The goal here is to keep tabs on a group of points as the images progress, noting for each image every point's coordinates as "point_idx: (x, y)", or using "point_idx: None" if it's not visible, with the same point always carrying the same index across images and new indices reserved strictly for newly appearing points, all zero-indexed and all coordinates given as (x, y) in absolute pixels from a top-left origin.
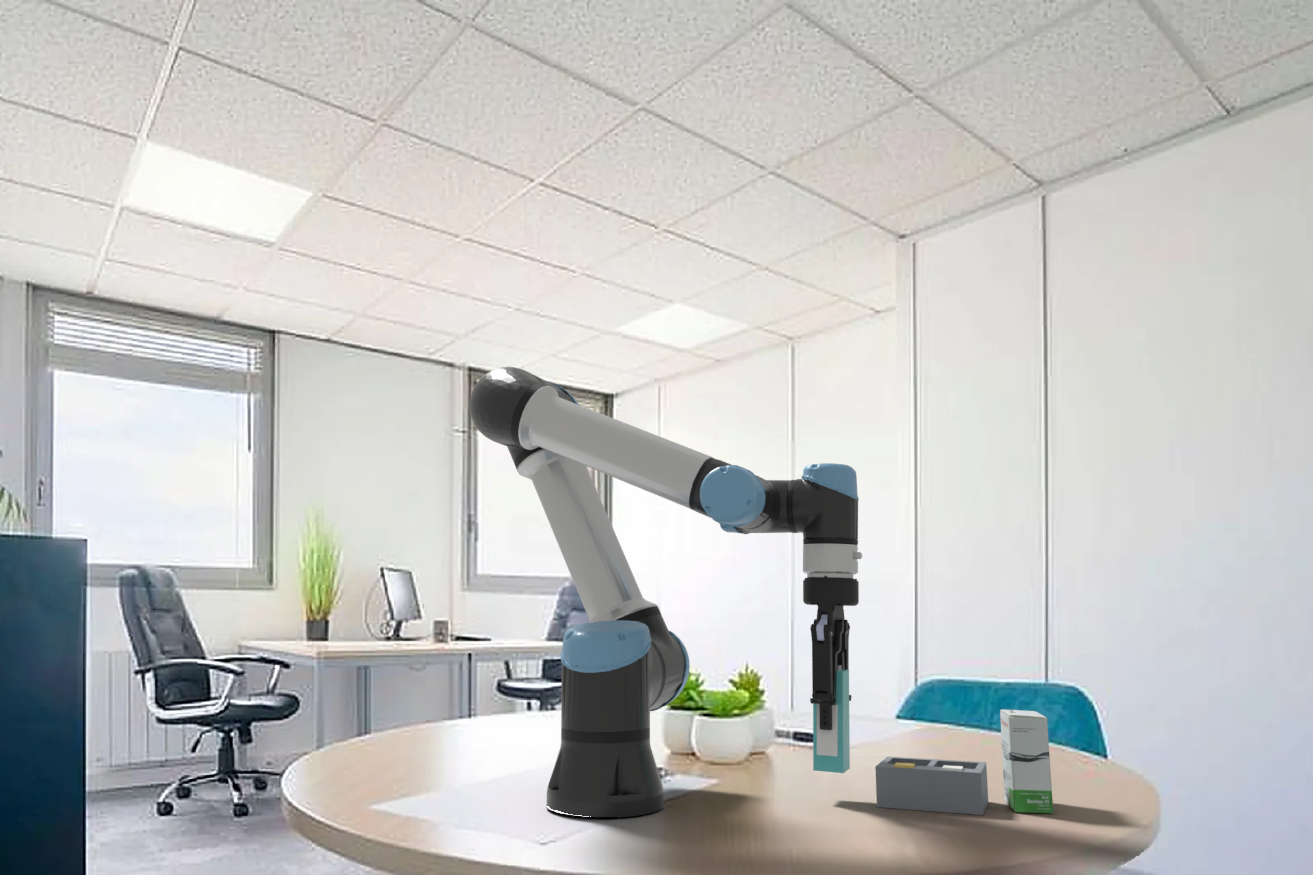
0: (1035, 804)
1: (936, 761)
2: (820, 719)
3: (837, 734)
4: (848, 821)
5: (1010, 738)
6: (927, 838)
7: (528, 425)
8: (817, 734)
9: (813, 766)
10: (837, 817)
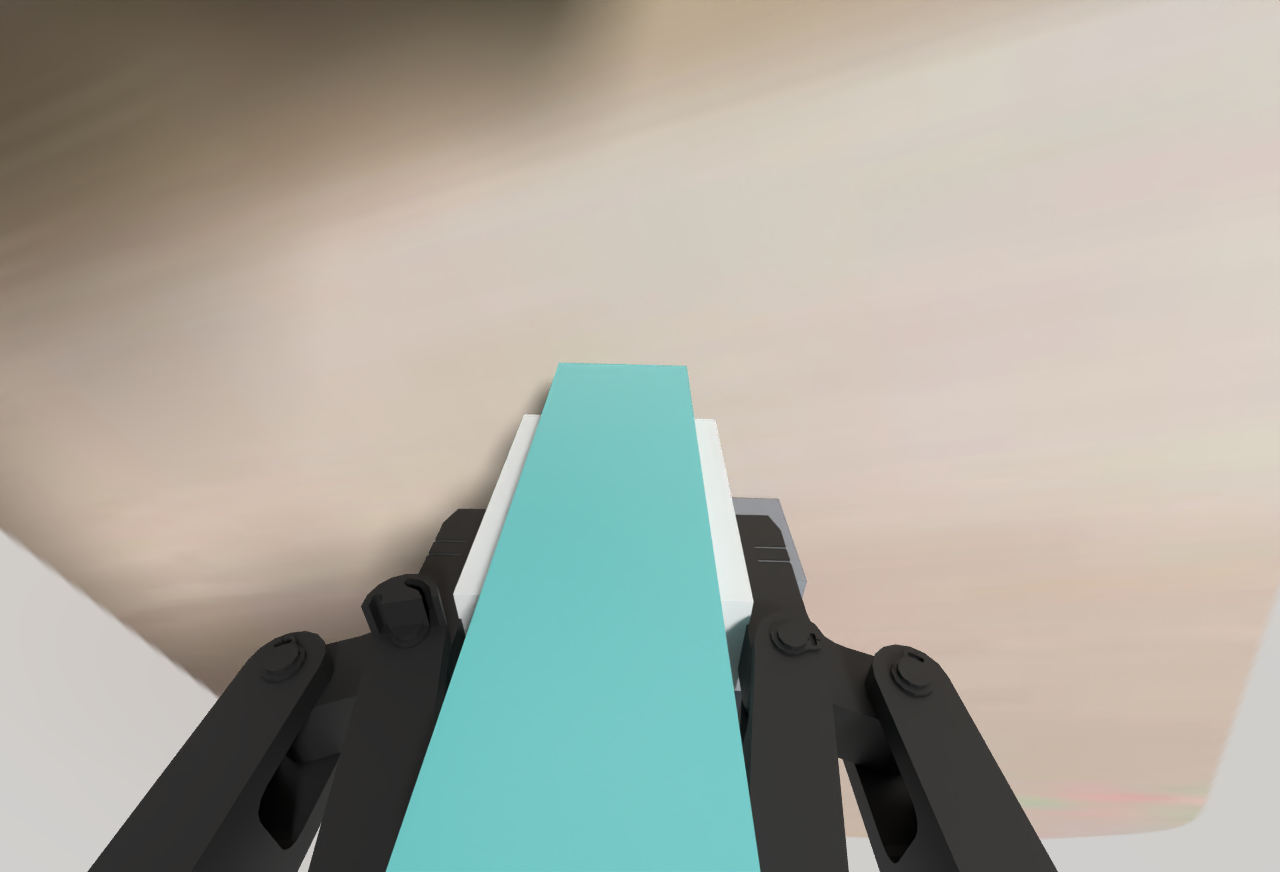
0: None
1: (736, 689)
2: (432, 551)
3: None
4: (367, 456)
5: None
6: (314, 608)
7: None
8: (504, 470)
9: (558, 370)
10: (398, 424)
